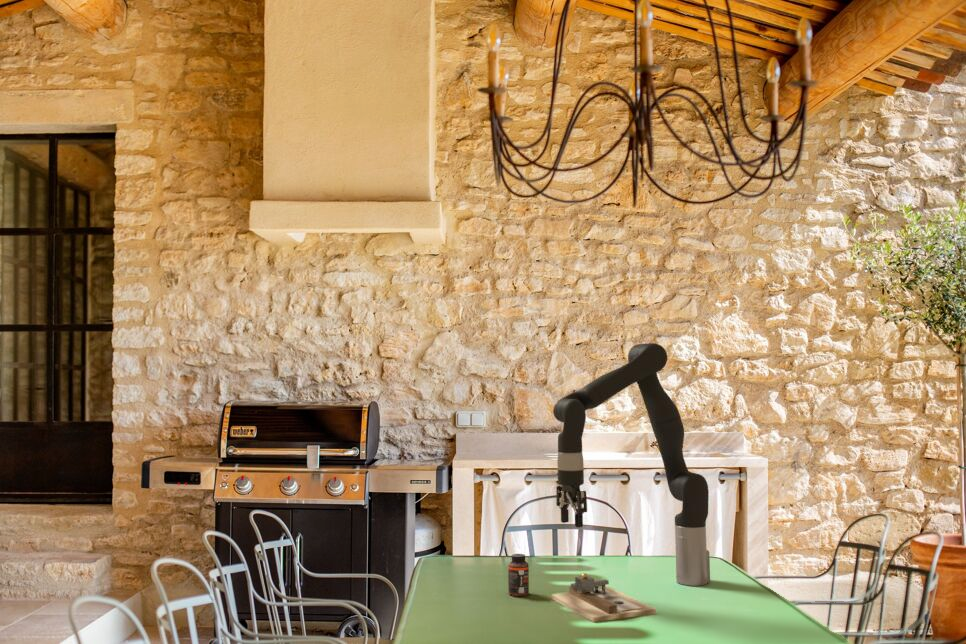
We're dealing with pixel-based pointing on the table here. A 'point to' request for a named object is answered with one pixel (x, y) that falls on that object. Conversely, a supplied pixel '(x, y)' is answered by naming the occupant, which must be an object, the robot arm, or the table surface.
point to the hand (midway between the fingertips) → (571, 524)
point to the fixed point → (594, 586)
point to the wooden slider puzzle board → (602, 604)
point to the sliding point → (589, 584)
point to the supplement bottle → (518, 576)
